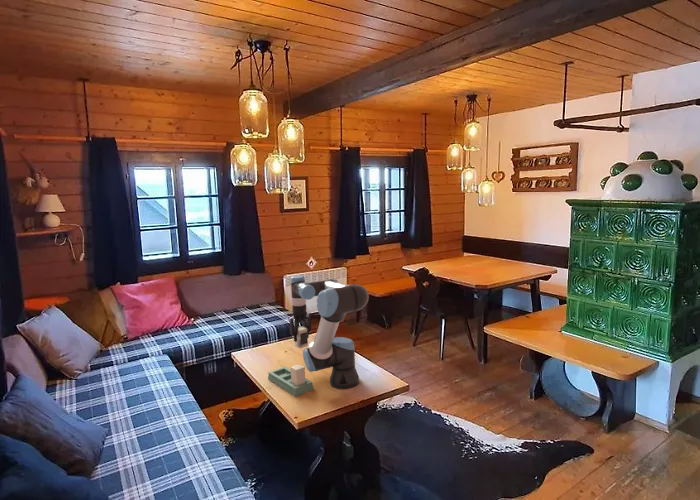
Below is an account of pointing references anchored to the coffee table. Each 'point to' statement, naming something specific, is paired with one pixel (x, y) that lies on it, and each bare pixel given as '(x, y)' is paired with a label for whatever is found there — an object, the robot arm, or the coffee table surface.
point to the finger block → (302, 337)
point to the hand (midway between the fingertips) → (301, 345)
